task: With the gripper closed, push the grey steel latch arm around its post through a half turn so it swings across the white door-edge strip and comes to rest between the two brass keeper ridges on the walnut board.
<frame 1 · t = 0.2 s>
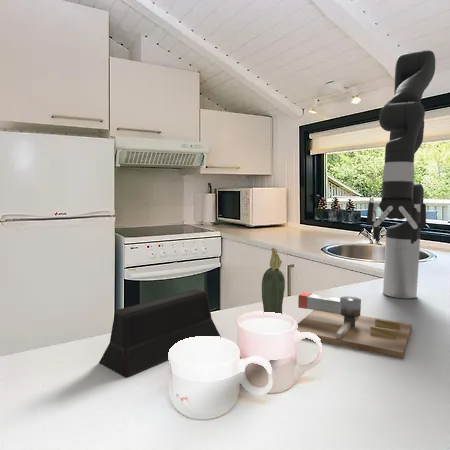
hand: (394, 242, 103), 17 cm above the countertop, tool pointing down, fingers open, 8 cm apart
vegetable: (271, 352, 75), on the countertop
barrier: (165, 351, 76), on the countertop
latch arm: (329, 303, 89), point 5 cm above the countertop, hinge at 0.0°
door board: (352, 332, 86), on the countertop
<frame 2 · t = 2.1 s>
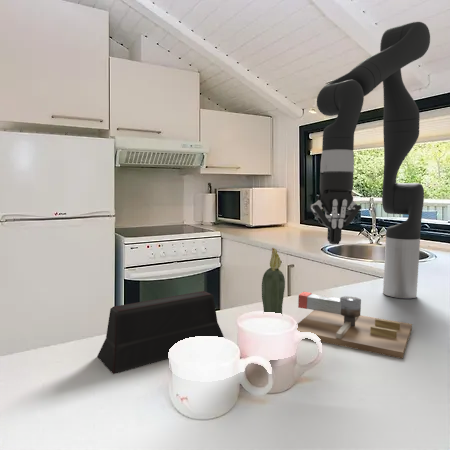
hand: (333, 243, 93), 18 cm above the countertop, tool pointing down, fingers closed
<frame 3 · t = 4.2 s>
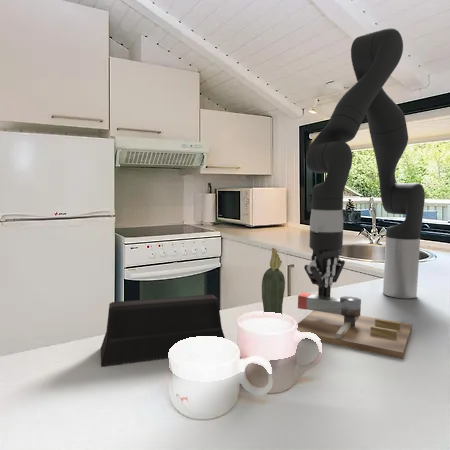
hand: (324, 301, 93), 5 cm above the countertop, tool pointing down, fingers closed
latch arm: (329, 303, 89), point 5 cm above the countertop, hinge at 3.2°, touching gripper
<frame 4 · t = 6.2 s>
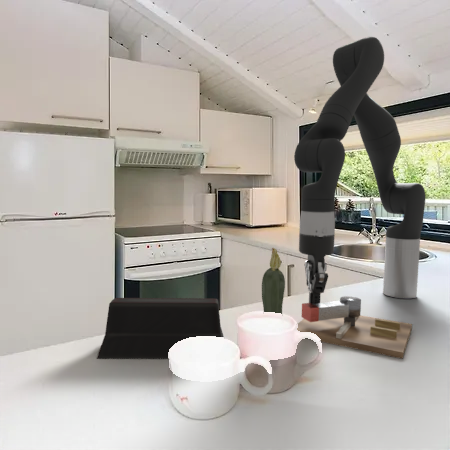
hand: (314, 308, 87), 5 cm above the countertop, tool pointing down, fingers closed
latch arm: (332, 308, 85), point 5 cm above the countertop, hinge at 51.6°, touching gripper
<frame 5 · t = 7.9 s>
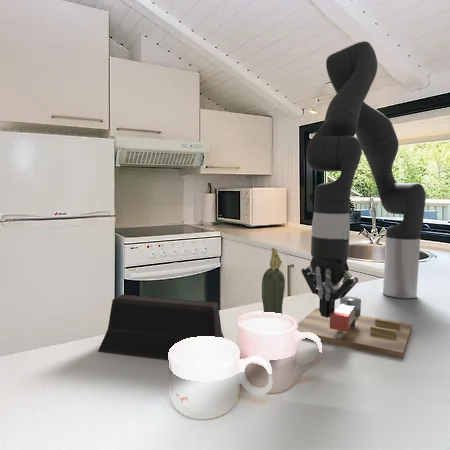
hand: (326, 316, 82), 5 cm above the countertop, tool pointing down, fingers closed
latch arm: (345, 312, 83), point 5 cm above the countertop, hinge at 91.7°, touching gripper
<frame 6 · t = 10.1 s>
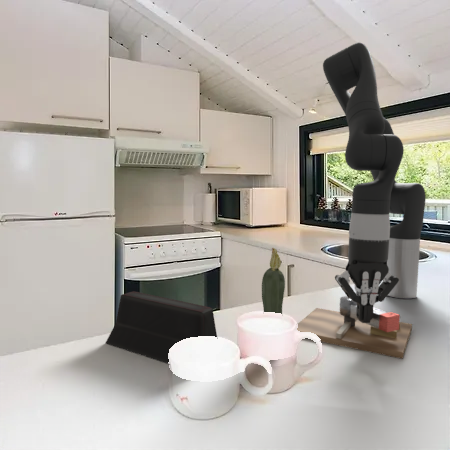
hand: (364, 321, 79), 5 cm above the countertop, tool pointing down, fingers closed
latch arm: (366, 312, 83), point 5 cm above the countertop, hinge at 148.2°, touching gripper
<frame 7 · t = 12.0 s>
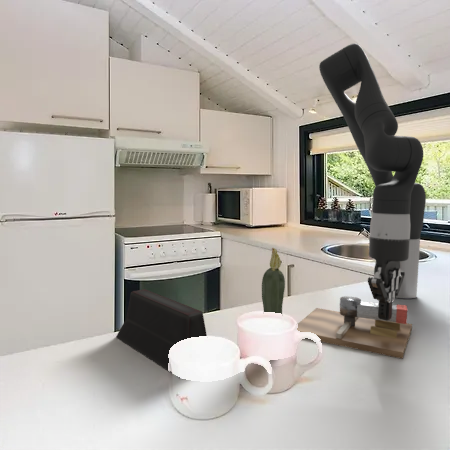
hand: (384, 318, 81), 5 cm above the countertop, tool pointing down, fingers closed
latch arm: (372, 309, 85), point 5 cm above the countertop, hinge at 187.0°, touching gripper
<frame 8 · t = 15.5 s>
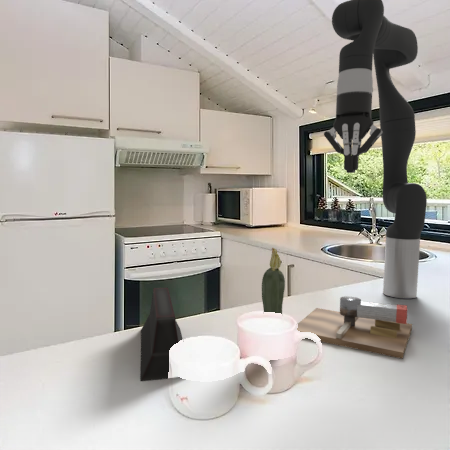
hand: (350, 172, 88), 35 cm above the countertop, tool pointing down, fingers closed
latch arm: (372, 309, 85), point 5 cm above the countertop, hinge at 187.1°
at the end: latch arm at +187° (first picture: +0°); the gripper is holding nothing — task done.
